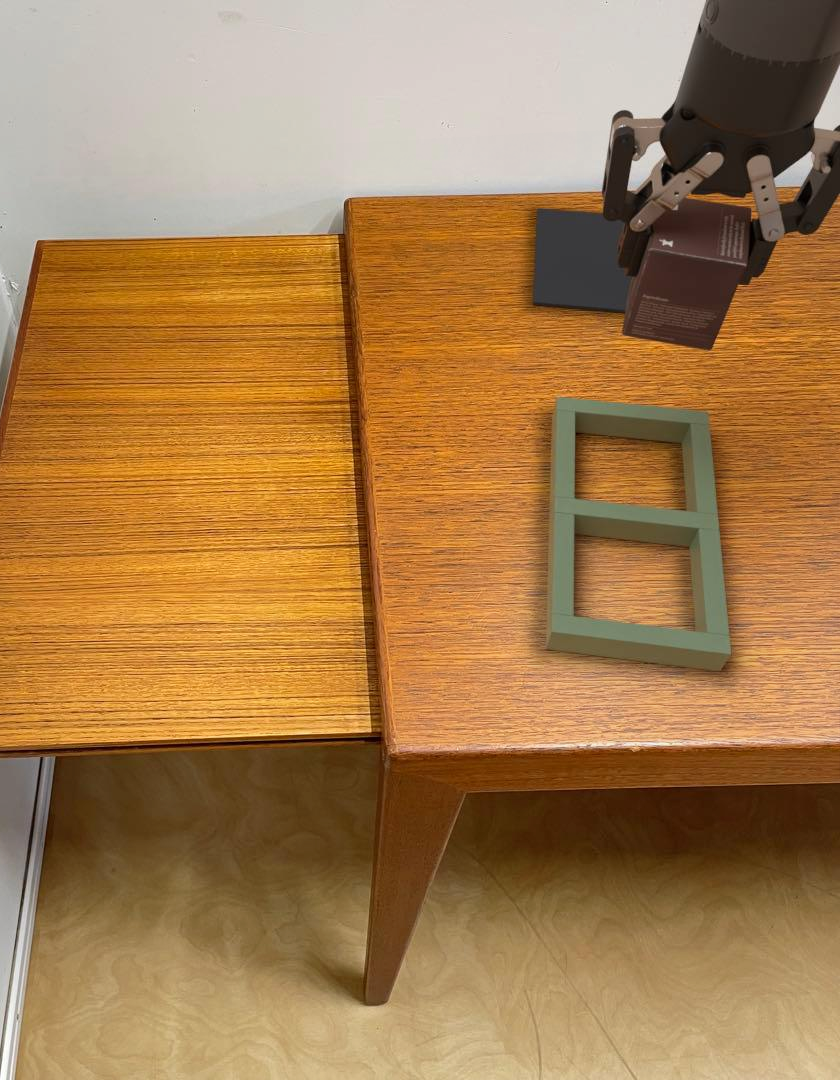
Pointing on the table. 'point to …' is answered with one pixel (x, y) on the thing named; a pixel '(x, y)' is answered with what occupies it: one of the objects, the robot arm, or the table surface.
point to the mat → (578, 262)
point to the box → (689, 274)
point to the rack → (637, 536)
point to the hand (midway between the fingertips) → (684, 272)
